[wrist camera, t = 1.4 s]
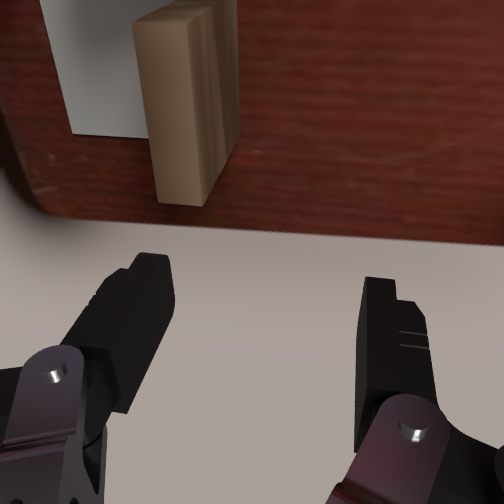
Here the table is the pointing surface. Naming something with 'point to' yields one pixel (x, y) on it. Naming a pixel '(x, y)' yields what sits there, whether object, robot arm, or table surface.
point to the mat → (99, 63)
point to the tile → (189, 94)
